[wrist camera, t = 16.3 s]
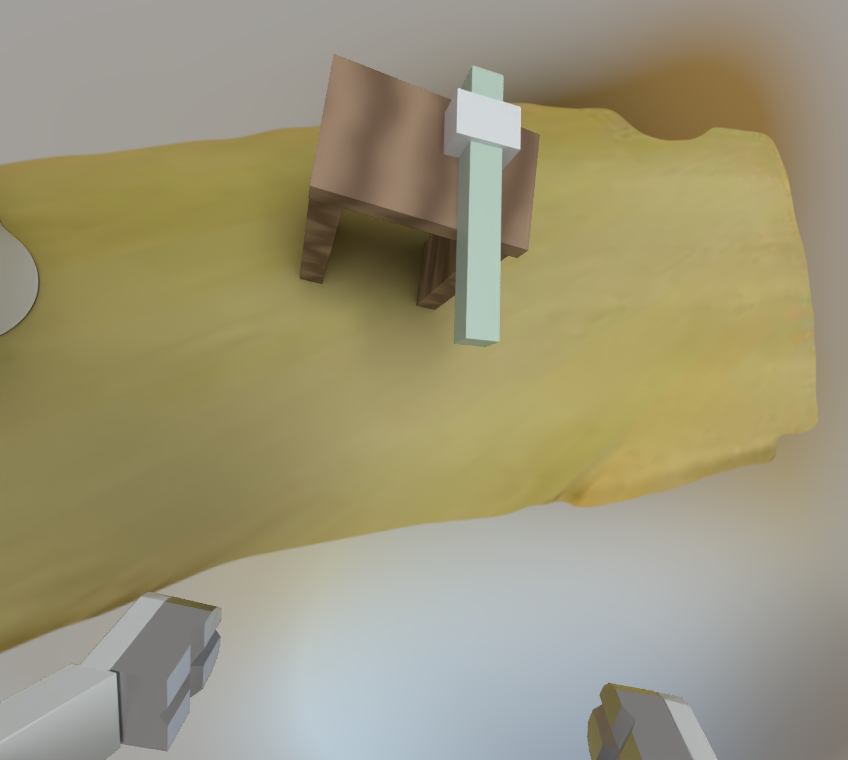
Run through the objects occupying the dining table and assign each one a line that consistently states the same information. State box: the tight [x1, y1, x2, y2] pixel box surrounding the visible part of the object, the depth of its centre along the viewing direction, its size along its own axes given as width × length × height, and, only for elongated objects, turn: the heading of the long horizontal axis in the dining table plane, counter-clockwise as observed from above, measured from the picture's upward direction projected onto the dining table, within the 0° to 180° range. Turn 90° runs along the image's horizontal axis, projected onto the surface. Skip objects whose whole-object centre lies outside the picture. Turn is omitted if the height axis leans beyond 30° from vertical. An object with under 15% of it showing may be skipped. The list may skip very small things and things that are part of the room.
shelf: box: [300, 54, 540, 310], centre depth 50 cm, size 20×12×26 cm, turn 82°
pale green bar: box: [443, 66, 521, 347], centre depth 37 cm, size 6×24×3 cm, turn 177°
